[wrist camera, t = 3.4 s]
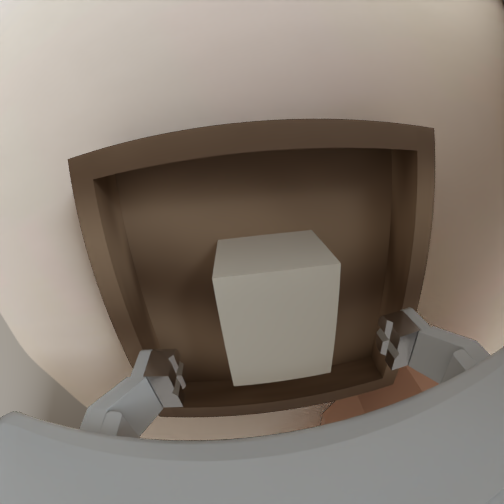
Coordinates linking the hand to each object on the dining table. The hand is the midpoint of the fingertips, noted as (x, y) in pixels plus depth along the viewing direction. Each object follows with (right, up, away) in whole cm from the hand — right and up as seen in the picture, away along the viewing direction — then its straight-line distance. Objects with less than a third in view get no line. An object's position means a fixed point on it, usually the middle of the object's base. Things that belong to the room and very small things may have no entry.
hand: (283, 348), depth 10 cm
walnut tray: (0, +2, +3) cm, 4 cm away
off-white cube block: (0, +2, +2) cm, 3 cm away
